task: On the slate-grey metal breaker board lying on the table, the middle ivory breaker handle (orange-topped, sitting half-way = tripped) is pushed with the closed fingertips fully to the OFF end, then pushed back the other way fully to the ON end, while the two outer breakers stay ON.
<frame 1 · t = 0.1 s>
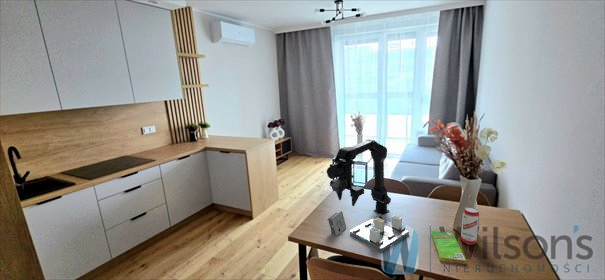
hand: (346, 202, 136), 15 cm above the table, fingers open, 9 cm apart
electrical switch: (337, 231, 139), on the table
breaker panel: (379, 234, 134), on the table
breaker 2: (379, 224, 132), point 5 cm above the table, slide at 4.0 cm
breaker 3: (374, 234, 124), point 5 cm above the table, slide at 8.0 cm
game box: (446, 249, 121), on the table
beer can: (468, 241, 125), on the table
breaker 1: (396, 221, 134), point 5 cm above the table, slide at 8.0 cm
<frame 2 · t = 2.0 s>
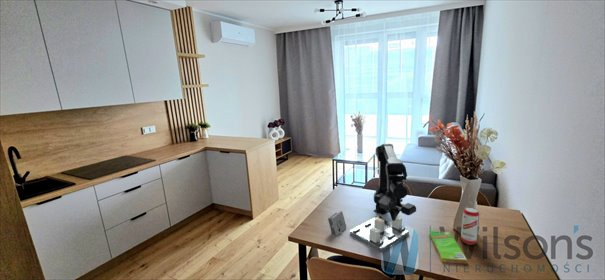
hand: (393, 220, 125), 11 cm above the table, fingers closed
nothing on the table moved.
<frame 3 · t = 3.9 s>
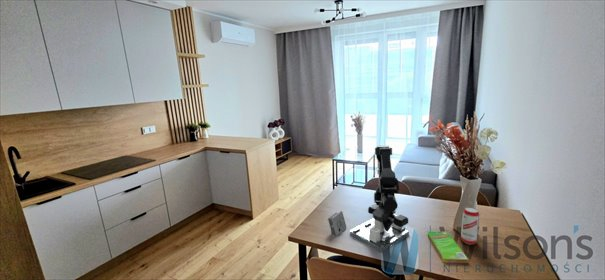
hand: (386, 231, 129), 4 cm above the table, fingers closed
breaker 2: (379, 224, 132), point 5 cm above the table, slide at 4.0 cm, touching gripper
everything else where it was.
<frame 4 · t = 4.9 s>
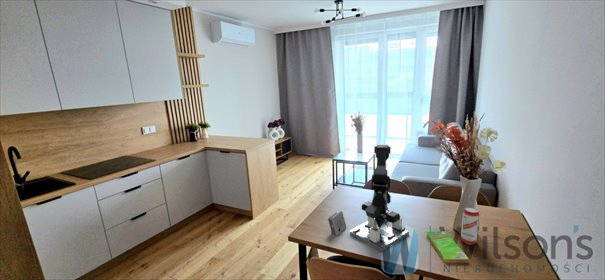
hand: (379, 227, 132), 4 cm above the table, fingers closed
breaker 2: (372, 221, 136), point 5 cm above the table, slide at 0.0 cm, touching gripper
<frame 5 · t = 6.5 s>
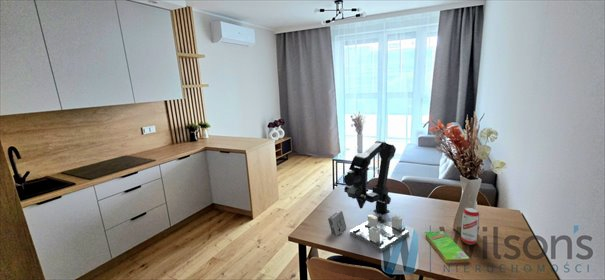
hand: (361, 208, 141), 10 cm above the table, fingers closed
breaker 2: (372, 221, 136), point 5 cm above the table, slide at 0.0 cm
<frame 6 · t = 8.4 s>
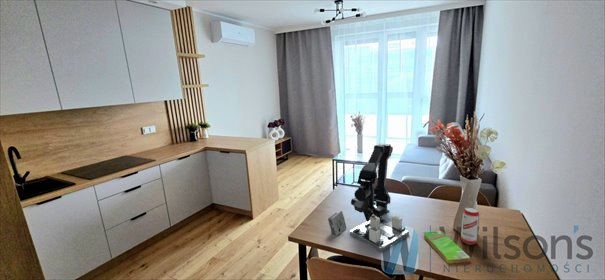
hand: (367, 221, 138), 4 cm above the table, fingers closed
breaker 2: (374, 222, 134), point 5 cm above the table, slide at 1.3 cm, touching gripper
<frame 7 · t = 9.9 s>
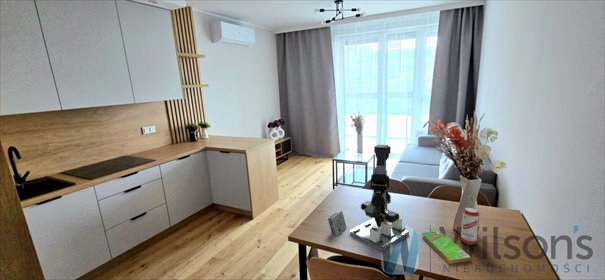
hand: (378, 226, 133), 4 cm above the table, fingers closed
breaker 2: (386, 228, 129), point 5 cm above the table, slide at 8.1 cm, touching gripper
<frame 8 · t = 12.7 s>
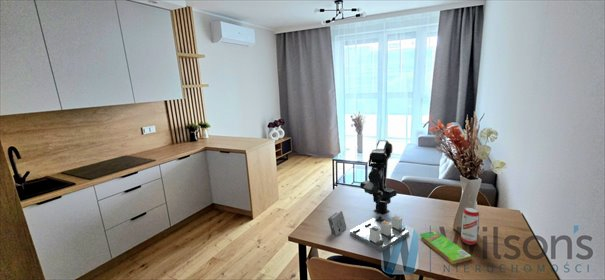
hand: (377, 204, 139), 12 cm above the table, fingers closed
breaker 2: (386, 228, 129), point 5 cm above the table, slide at 8.0 cm
at the end: breaker 2 slide at 8.0 cm; breaker 1 slide at 8.0 cm; breaker 3 slide at 8.0 cm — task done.
